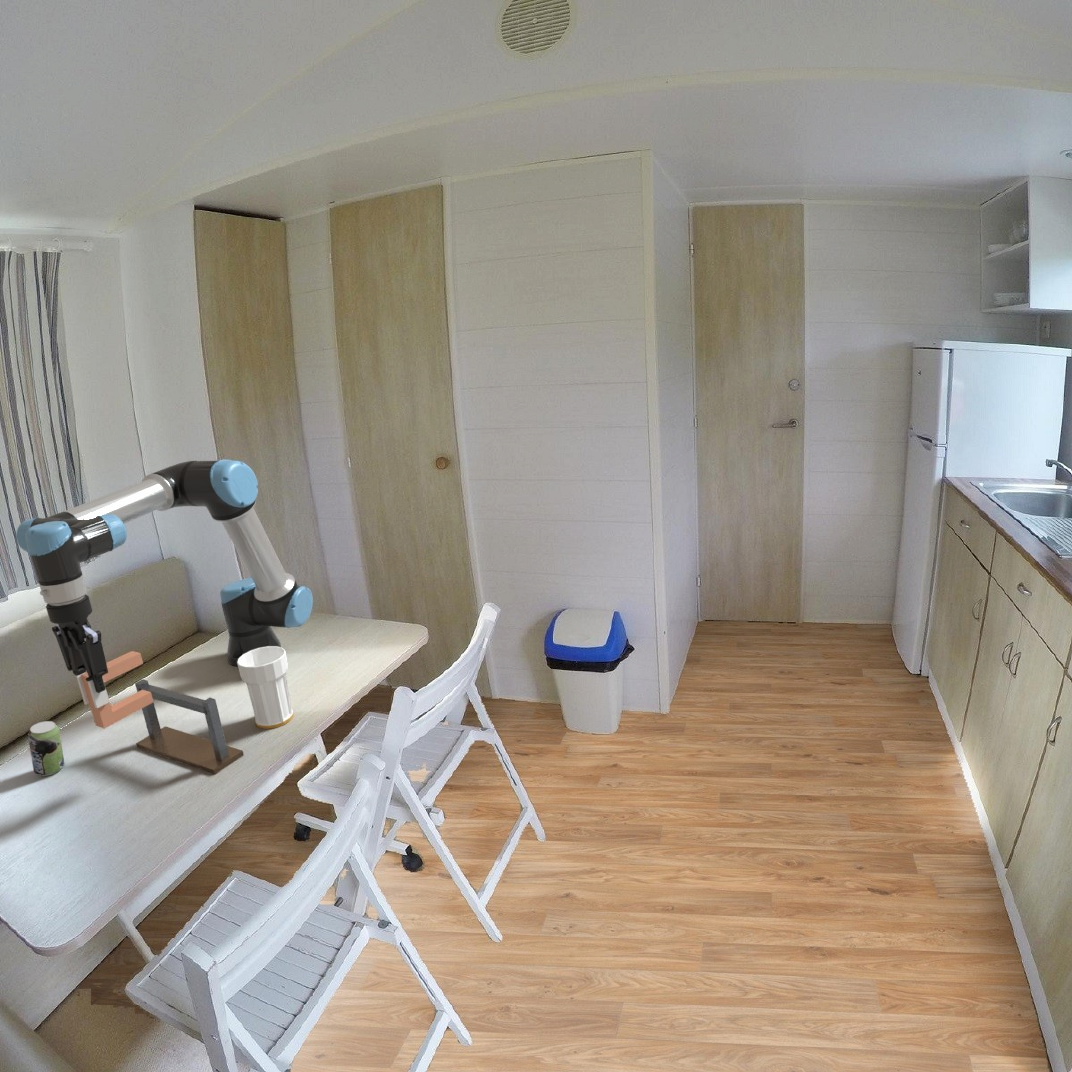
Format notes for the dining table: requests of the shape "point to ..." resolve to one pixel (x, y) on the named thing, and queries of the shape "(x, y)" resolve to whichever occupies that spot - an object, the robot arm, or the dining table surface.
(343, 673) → the dining table surface
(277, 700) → the cup
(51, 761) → the beverage can
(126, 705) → the c link
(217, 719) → the stand
